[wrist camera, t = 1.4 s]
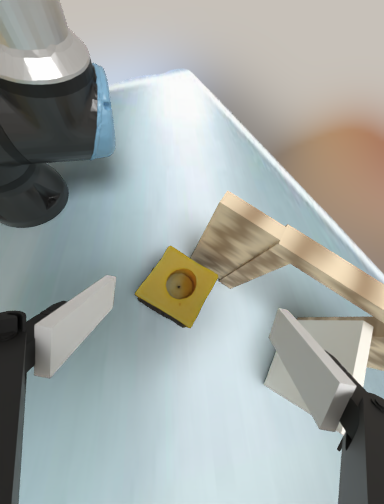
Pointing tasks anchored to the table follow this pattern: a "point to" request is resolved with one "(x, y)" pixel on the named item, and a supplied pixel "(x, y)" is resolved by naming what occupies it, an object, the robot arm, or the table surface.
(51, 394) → the table surface
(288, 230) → the door frame
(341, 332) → the door
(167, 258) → the candle
